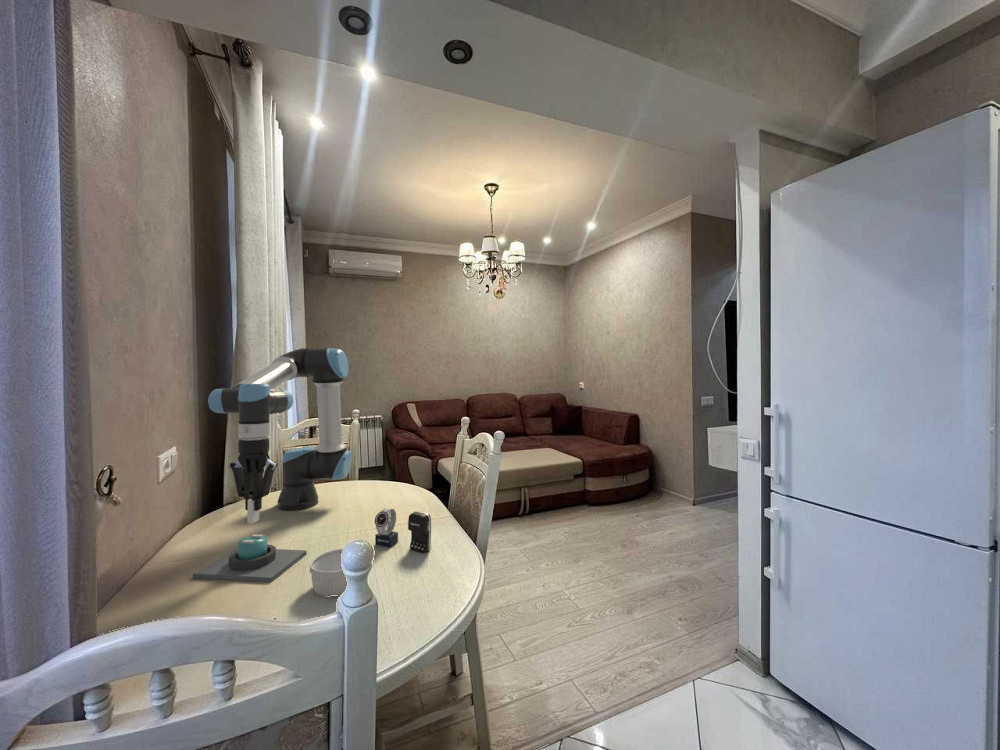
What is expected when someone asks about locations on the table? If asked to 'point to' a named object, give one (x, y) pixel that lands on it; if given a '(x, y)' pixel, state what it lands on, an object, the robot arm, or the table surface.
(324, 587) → the ramekin
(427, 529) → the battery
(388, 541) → the watch
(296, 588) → the table surface
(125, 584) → the table surface
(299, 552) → the plate with oval ring
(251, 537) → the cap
